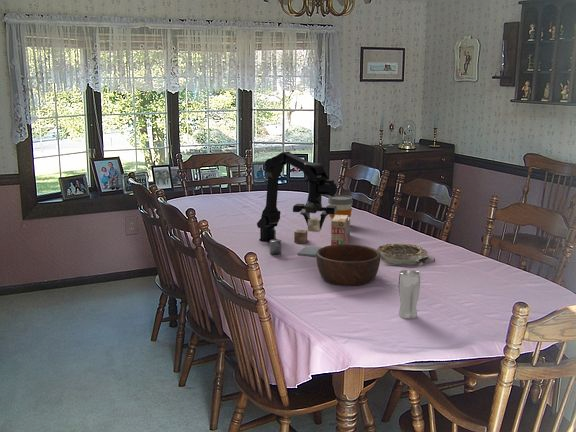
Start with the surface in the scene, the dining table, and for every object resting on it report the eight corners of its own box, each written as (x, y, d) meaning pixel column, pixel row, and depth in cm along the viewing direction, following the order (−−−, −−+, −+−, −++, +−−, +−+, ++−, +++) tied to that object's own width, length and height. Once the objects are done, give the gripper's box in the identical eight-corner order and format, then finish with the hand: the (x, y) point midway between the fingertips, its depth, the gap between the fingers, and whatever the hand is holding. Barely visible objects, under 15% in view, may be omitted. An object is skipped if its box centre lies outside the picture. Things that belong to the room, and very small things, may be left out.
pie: (362, 263, 263) (362, 252, 262) (377, 247, 288) (377, 237, 287) (429, 271, 253) (430, 259, 252) (439, 254, 278) (439, 243, 277)
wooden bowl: (363, 293, 228) (363, 266, 226) (303, 281, 241) (304, 255, 238) (390, 274, 249) (391, 249, 246) (334, 264, 261) (334, 240, 259)
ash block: (307, 231, 274) (307, 220, 273) (310, 228, 278) (310, 217, 277) (318, 232, 272) (318, 220, 271) (321, 229, 277) (321, 218, 276)
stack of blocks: (337, 234, 308) (337, 210, 305) (350, 235, 307) (350, 210, 304) (330, 246, 288) (331, 220, 285) (344, 247, 286) (345, 221, 284)
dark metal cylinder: (268, 254, 274) (268, 241, 273) (272, 251, 279) (271, 238, 277) (279, 255, 273) (279, 242, 271) (282, 252, 277) (282, 239, 276)
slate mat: (297, 255, 274) (298, 253, 274) (305, 247, 285) (305, 246, 285) (324, 257, 270) (324, 255, 270) (331, 249, 282) (331, 248, 281)
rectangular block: (294, 242, 294) (294, 232, 293) (297, 239, 299) (297, 229, 298) (304, 243, 293) (304, 232, 292) (307, 240, 297) (307, 230, 296)
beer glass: (402, 310, 212) (404, 267, 208) (421, 314, 208) (424, 271, 205) (393, 316, 206) (395, 273, 203) (413, 321, 202) (415, 277, 199)
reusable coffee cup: (346, 221, 333) (346, 194, 329) (355, 227, 321) (356, 198, 318) (324, 223, 329) (324, 195, 325) (333, 229, 317) (333, 200, 314)
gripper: (288, 195, 267) (289, 230, 270) (331, 197, 261) (331, 233, 265) (296, 190, 277) (296, 225, 281) (337, 192, 272) (337, 227, 275)
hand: (314, 228), depth 275 cm, fingers closed on ash block, 5 cm apart
